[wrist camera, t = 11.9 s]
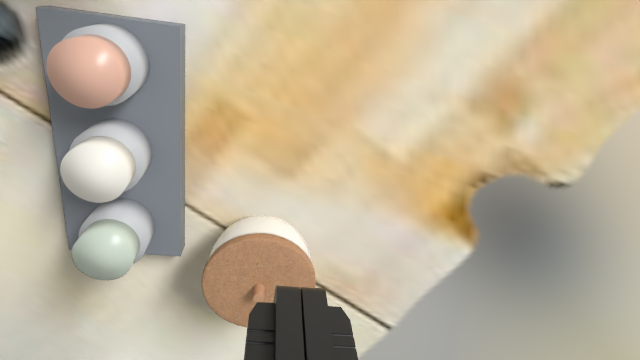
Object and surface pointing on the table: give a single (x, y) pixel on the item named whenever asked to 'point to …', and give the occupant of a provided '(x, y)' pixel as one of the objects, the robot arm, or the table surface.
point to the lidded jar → (254, 266)
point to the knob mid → (98, 169)
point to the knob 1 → (88, 70)
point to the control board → (137, 109)
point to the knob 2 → (106, 249)
